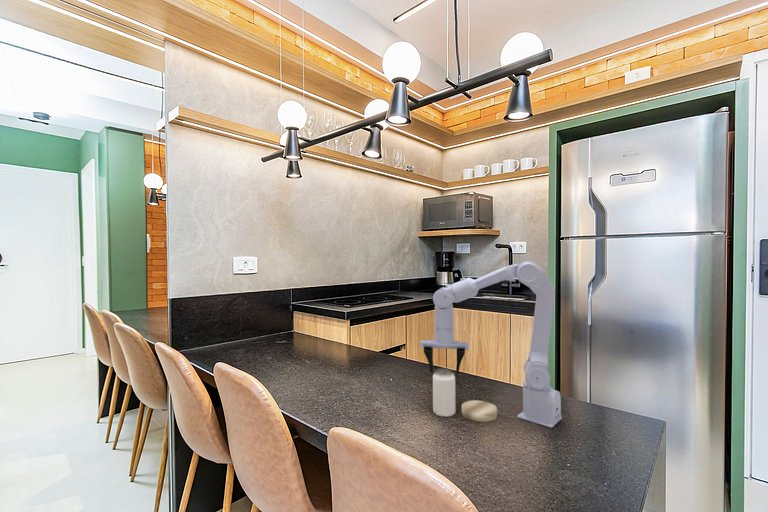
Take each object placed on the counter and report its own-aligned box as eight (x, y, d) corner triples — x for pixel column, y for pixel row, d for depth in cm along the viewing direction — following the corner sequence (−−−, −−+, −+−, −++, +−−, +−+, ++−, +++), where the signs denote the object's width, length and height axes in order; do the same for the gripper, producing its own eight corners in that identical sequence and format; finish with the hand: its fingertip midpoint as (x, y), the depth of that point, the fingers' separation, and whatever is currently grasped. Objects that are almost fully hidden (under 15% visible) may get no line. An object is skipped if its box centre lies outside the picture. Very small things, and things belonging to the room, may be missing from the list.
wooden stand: (503, 413, 105) (503, 406, 105) (486, 425, 98) (486, 418, 98) (472, 404, 112) (472, 397, 112) (454, 414, 105) (454, 407, 105)
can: (429, 414, 105) (429, 373, 105) (437, 406, 111) (437, 367, 111) (451, 419, 102) (451, 376, 102) (458, 410, 108) (457, 370, 108)
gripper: (468, 325, 113) (468, 369, 113) (421, 324, 117) (422, 366, 117) (468, 330, 107) (469, 376, 107) (419, 328, 110) (419, 373, 110)
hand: (444, 372), depth 111 cm, fingers open, 7 cm apart
